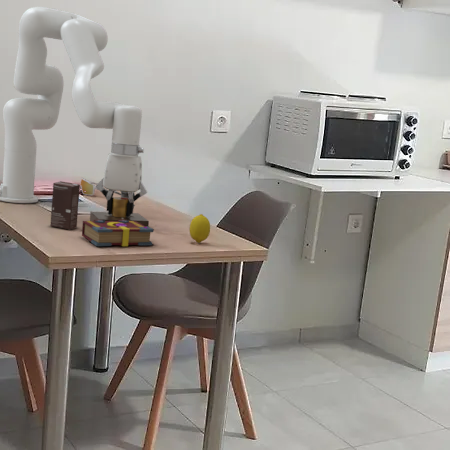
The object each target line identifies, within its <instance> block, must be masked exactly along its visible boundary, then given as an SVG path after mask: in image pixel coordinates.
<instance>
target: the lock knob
mask: <svg viewBox="0 0 450 450" xmlns="http://www.w3.org/2000/svg"><path fill="white" fill-rule="evenodd" d="M128 202H129V198H123V197H121V196H113V204H112V216H114V217H121V218H124V217H127V216H126V212H127V203H128Z"/></svg>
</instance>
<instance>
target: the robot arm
mask: <svg viewBox="0 0 450 450" xmlns="http://www.w3.org/2000/svg"><path fill="white" fill-rule="evenodd" d="M44 38H47V39H53V40H59V41H62V43H63V45H64V49H65V51H66V53H67V56H68V59H69V62H70V65H71V66H72V68H73V69H72V70H73V71H74V74H75V75H74V79H73V81H72V86H71V101H72V104H73V106H74V109H75V112H76V114H77V116H78V118H79V120H80V122H81V123H82V124H83V126H85V127H87V128H90V129H104V130H105V129H106V130H112V135H111V147H110V148H111V149H110V152H109V153H108V154H107V157H106V162H105V167H104V172H103V177H102V179H100V181H99V182H97V183H98V184H97V185H96V184H95V186H96V188H97V189H98V191H100V193H101V194H102V195H103V196H104V197H105V199H106V212H108V214H109V215H110V214H112V204H113V197H114V194H115V193H114V191H115V190H116V191H117V192H120V191H125V192H128V196H129V202H128V203H127V212H126V216H127V217H129V216H131V214H133V213H134V209H133V206H134V205H135V204H134V203H135V202H136V201H137V200H138V199H140V198H141V197H143V196H144V195H147V193H148V190H147V189H146V187H145V185H144V183H143V182H142V178H143V163H142V162H143V161H142V156H140V154H144V152H145V148H144V147H141V146H140V141H141V140H140V138H141V130H142V129H141V128H142V117H143V116H142V115H143V114H142V113H143V110H142V109H141V108H140V106H136V105H130V104H123V103H120V102H117V101H107V100H96V98H95V96H94V93H93V91H92V88H91V87H92V86H91V80H92V79H94V78H97V76H99V75H100V74H101V73H102V72H103V71H104V69H105V63H104V61H103V58H102V56H101V54H100V52H101V51H103V50H104V49H105V48H106V47H107V44H108V40H109V38H108V32H107V30H106V29H105V27H104V26H103V25H102V24H101V23H100V22H98V21H95V20H92V19H90V18H88V17H86V16H82V15H80V14H79V13H75V12H71V11H68V10H61V9H56V8H50V7H46V6H32V7H30V8H27V10H25V11H24V12H23V14H22V15H21V16H20V19H19V22H18V46H17V47H18V48H17V52H16V53H17V54H16V59H15V66H14V71H13V73H14V74H13V87H14V88H15V91H17V92H18V93H20V94H25V95H31V96H32V95H33V96H37V98H31V97H14V98H11V99H9V100H8V101H6V102H5V104H4V106H3V109H2V119H3V126H4V147H3V148H4V152H3V153H4V154H3V170H2V171H3V172H2V183H0V201H1V202H5V203H14V204H33V203H38V202H39V196H38V195H35V179H36V164H37V163H36V161H37V140H36V137H35V134H34V132H33V131H39V130H40V131H44V130H45V131H46V130H50V129H52V128H53V127H54V126H55V125H56V124H57V122H58V119H59V115H60V111H61V104H62V99H63V92H64V86H65V85H64V84H65V83H64V82H65V81H64V77H63V73H62V71H61V70H60V69H59V68H58V67H57V66H55V65H52V64H48V63H47V57H48V48H47V44H46V41H45V39H44ZM46 63H47V64H46ZM103 186H104V187H103ZM97 189H96V190H97ZM106 189H107V190H108V191H107V190H106ZM138 191H140V192H138ZM134 207H135V206H134Z"/></svg>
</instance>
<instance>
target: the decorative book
mask: <svg viewBox="0 0 450 450" xmlns="http://www.w3.org/2000/svg"><path fill="white" fill-rule="evenodd" d="M81 229H82V230H81V237H83V238H85V239H86V240H87V241H90V242H91V244H92V245H94V246H96V247H112V246H121V247H129V246H133V245H134V246H136V245H137V246H153V241H151V233H154V229H153V228H152V227H150V226H149V225H148V226H147V227H146V226H144V225H142V224H140V223H138V222H136V221H126V220H117V221H103V220H94V221H90V220H82V228H81Z"/></svg>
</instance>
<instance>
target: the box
mask: <svg viewBox="0 0 450 450" xmlns="http://www.w3.org/2000/svg"><path fill="white" fill-rule="evenodd" d="M80 185H81V184H79V183H73V182H67V181H63V180H62V181H56V182H53V184H52V196H51V197H52V199H51V211H50V212H51V213H50V227H54V228H60V229H64V230H75V229H76V228H78V216H79V215H78V213H79V204H80V203H79V202H80V192H81V191H80Z"/></svg>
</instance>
